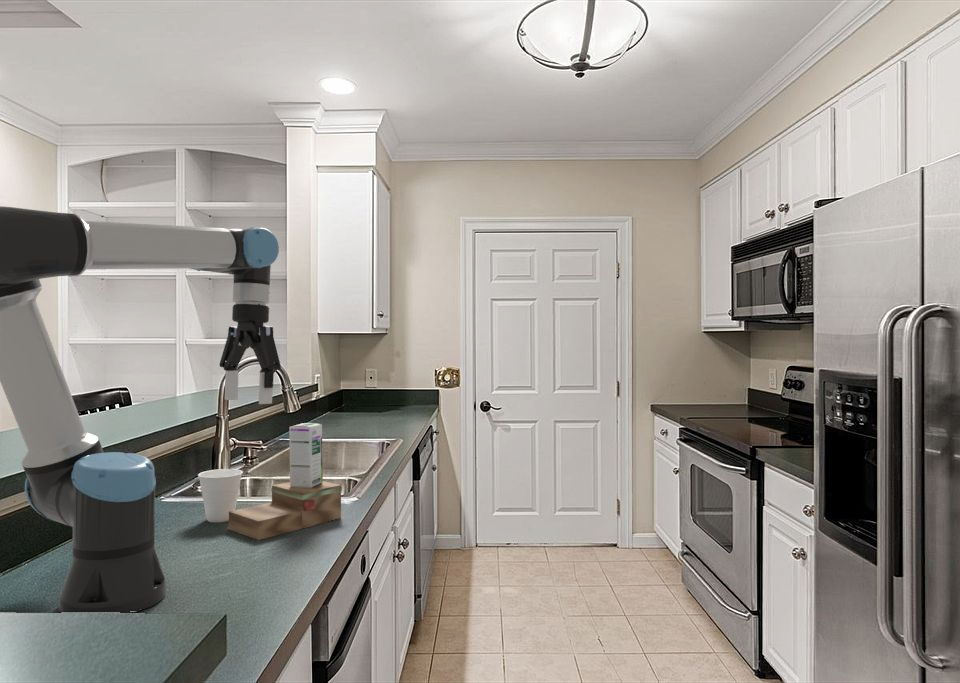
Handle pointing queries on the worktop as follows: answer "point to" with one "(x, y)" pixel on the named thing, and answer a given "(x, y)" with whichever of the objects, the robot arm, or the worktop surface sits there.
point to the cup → (220, 492)
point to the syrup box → (306, 455)
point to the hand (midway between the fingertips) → (247, 401)
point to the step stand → (288, 510)
